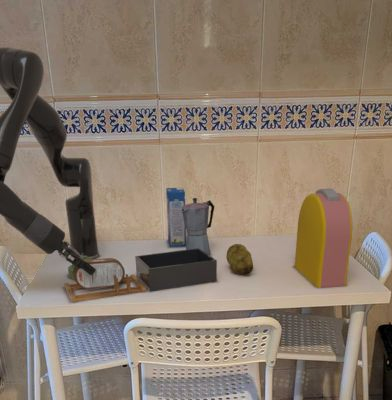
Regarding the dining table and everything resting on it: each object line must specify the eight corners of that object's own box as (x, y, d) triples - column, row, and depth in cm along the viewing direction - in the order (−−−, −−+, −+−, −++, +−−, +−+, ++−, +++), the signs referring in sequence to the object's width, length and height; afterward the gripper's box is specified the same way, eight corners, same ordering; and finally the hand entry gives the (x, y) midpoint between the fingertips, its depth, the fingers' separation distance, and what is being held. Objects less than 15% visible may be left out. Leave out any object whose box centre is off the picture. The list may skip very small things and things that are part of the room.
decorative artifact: (101, 278, 157) (99, 268, 166) (98, 256, 154) (97, 248, 163) (68, 281, 156) (69, 271, 164) (65, 259, 152) (66, 250, 161)
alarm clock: (346, 285, 149) (358, 194, 137) (317, 287, 148) (327, 196, 135) (319, 264, 167) (328, 182, 155) (293, 266, 166) (300, 183, 154)
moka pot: (173, 256, 177) (171, 199, 168) (203, 247, 187) (202, 192, 178) (193, 261, 172) (192, 202, 162) (222, 252, 182) (223, 195, 172)
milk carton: (168, 240, 197) (166, 188, 188) (183, 239, 198) (182, 187, 188) (169, 247, 188) (167, 192, 179) (186, 246, 189) (184, 192, 180)
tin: (123, 283, 152) (122, 256, 148) (126, 286, 149) (125, 258, 146) (73, 288, 146) (71, 260, 143) (75, 291, 144) (72, 262, 140)
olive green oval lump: (226, 277, 157) (227, 252, 153) (226, 265, 168) (226, 241, 164) (253, 277, 156) (254, 252, 153) (250, 265, 168) (251, 241, 164)
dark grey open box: (136, 276, 158) (135, 255, 155) (199, 268, 165) (198, 248, 162) (150, 291, 146) (148, 269, 143) (216, 281, 153) (216, 260, 150)
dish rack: (64, 287, 150) (62, 271, 148) (134, 277, 158) (133, 262, 155) (72, 302, 140) (69, 285, 137) (146, 291, 147) (145, 275, 144)
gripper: (55, 228, 129) (106, 267, 139) (48, 217, 141) (95, 254, 150) (37, 250, 130) (89, 288, 139) (31, 237, 141) (80, 273, 151)
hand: (92, 270), depth 145 cm, fingers closed on tin, 2 cm apart
